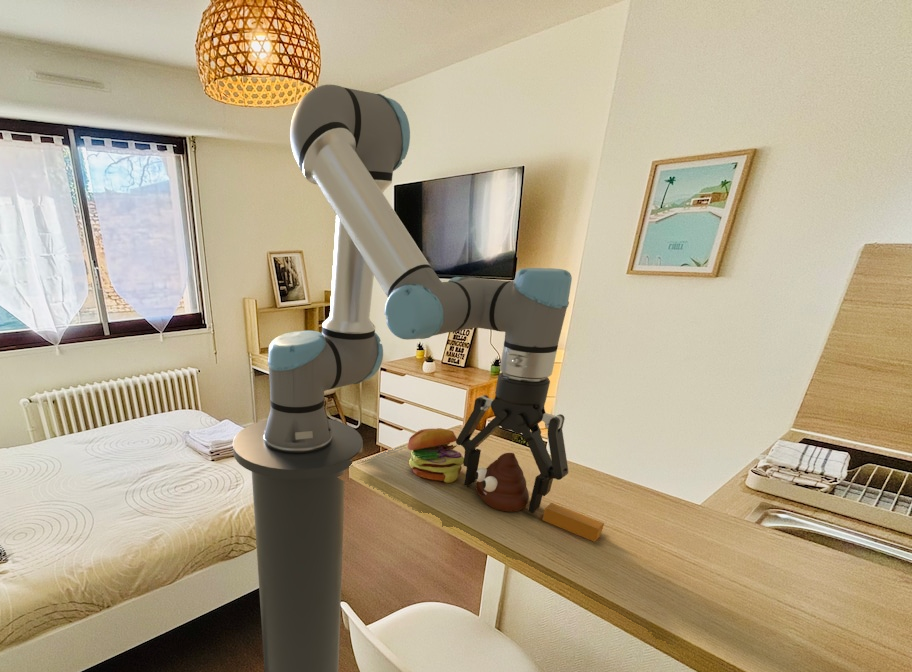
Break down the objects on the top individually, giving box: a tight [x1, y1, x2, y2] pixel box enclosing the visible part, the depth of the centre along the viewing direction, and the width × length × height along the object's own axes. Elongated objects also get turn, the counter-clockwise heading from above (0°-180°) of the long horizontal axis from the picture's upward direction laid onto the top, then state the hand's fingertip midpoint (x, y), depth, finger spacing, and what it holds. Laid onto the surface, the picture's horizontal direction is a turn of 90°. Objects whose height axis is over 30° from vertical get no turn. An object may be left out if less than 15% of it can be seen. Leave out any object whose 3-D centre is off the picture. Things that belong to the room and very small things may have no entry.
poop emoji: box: [475, 452, 530, 513], centre depth 80 cm, size 10×8×9 cm
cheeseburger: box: [407, 427, 464, 484], centre depth 90 cm, size 10×11×10 cm
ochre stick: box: [541, 502, 605, 542], centre depth 74 cm, size 8×2×2 cm, turn 42°
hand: (500, 495), depth 82 cm, fingers open, 11 cm apart
